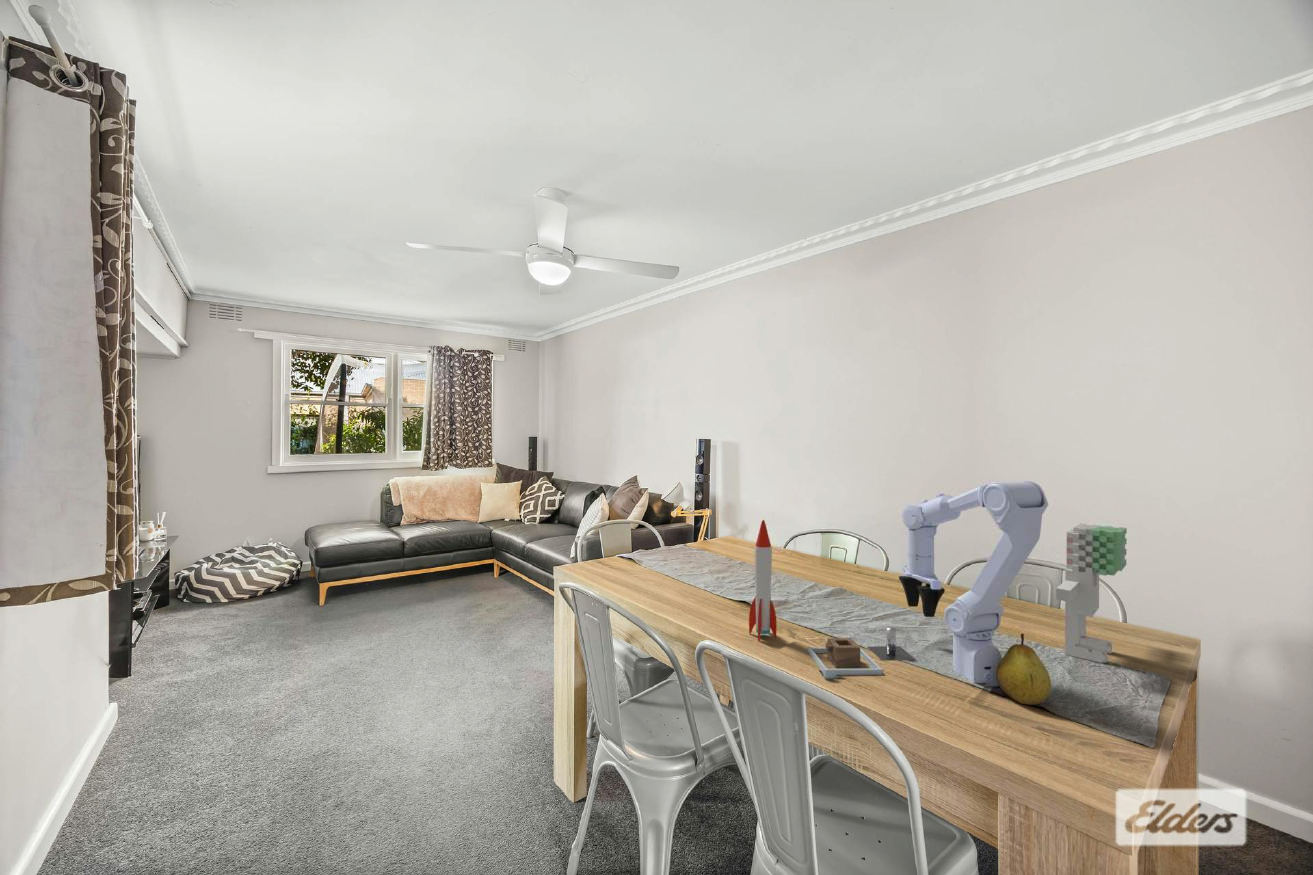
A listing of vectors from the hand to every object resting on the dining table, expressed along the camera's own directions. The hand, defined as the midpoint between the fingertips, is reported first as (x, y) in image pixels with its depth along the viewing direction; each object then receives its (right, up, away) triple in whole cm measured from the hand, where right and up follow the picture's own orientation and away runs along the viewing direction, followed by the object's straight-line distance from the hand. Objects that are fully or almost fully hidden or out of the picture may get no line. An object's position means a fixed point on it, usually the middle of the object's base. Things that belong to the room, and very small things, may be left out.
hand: (920, 611), depth 132 cm
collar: (-22, -9, -9) cm, 25 cm away
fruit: (+9, -10, -24) cm, 27 cm away
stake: (-9, -9, -4) cm, 14 cm away
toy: (+40, -10, -3) cm, 41 cm away
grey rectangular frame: (-22, -10, -9) cm, 26 cm away
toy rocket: (-36, -10, +9) cm, 39 cm away
